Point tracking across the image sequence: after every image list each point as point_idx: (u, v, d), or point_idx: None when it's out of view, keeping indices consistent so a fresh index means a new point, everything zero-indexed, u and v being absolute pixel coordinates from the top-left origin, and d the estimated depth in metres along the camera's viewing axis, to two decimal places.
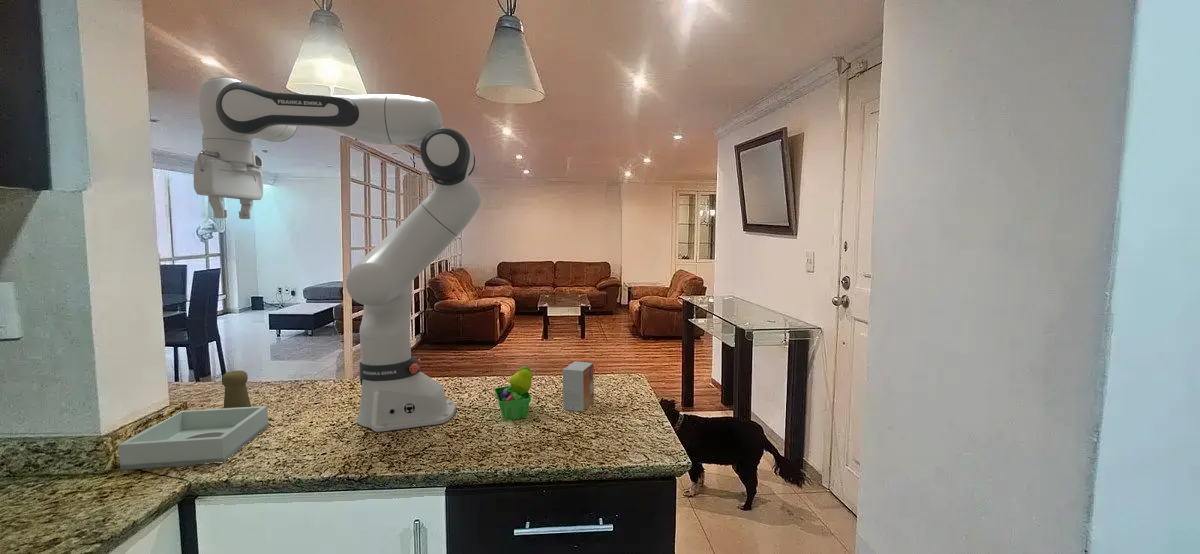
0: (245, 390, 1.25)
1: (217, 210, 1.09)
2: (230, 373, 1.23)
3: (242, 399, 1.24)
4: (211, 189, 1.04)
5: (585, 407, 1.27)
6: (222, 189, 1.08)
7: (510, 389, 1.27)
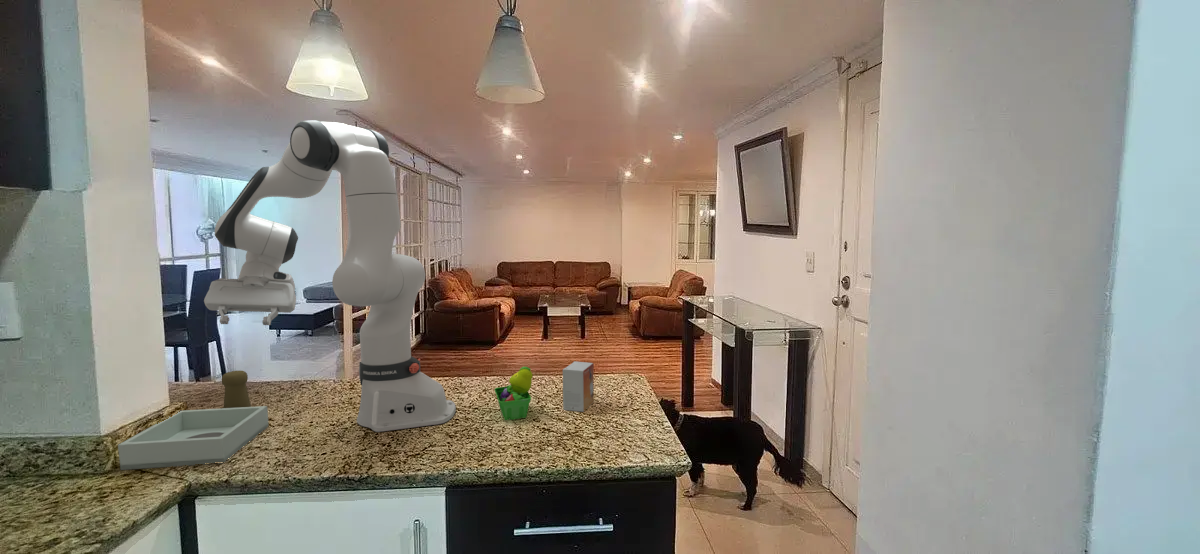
0: (245, 390, 1.25)
1: None
2: (230, 373, 1.23)
3: (242, 399, 1.24)
4: (204, 300, 1.31)
5: (585, 407, 1.27)
6: (220, 299, 1.32)
7: (510, 389, 1.27)
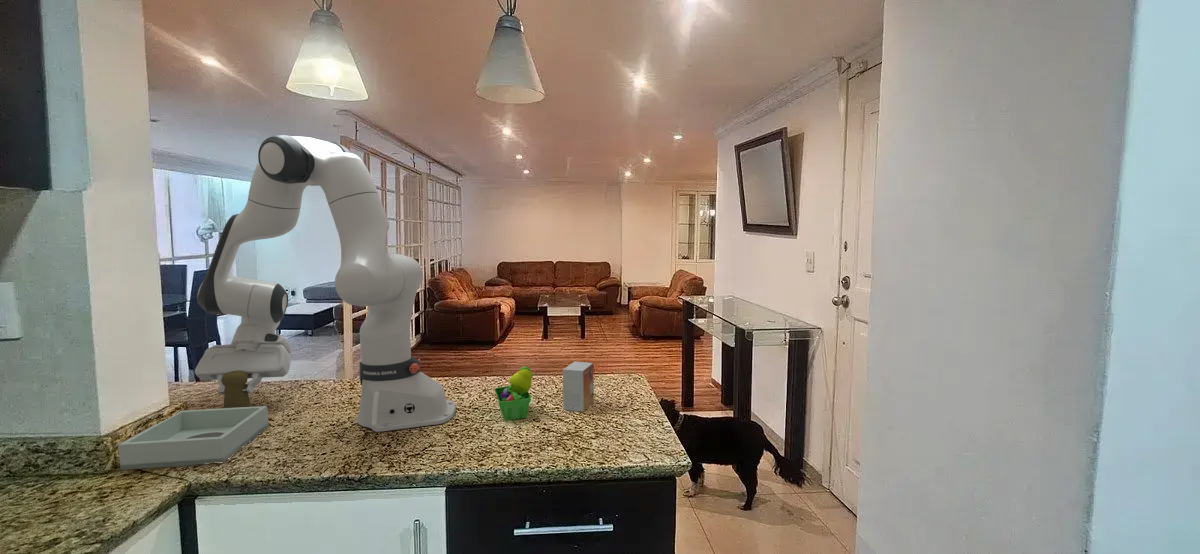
0: None
1: None
2: (230, 373, 1.23)
3: (242, 399, 1.24)
4: None
5: (585, 407, 1.27)
6: (210, 368, 1.25)
7: (510, 389, 1.27)
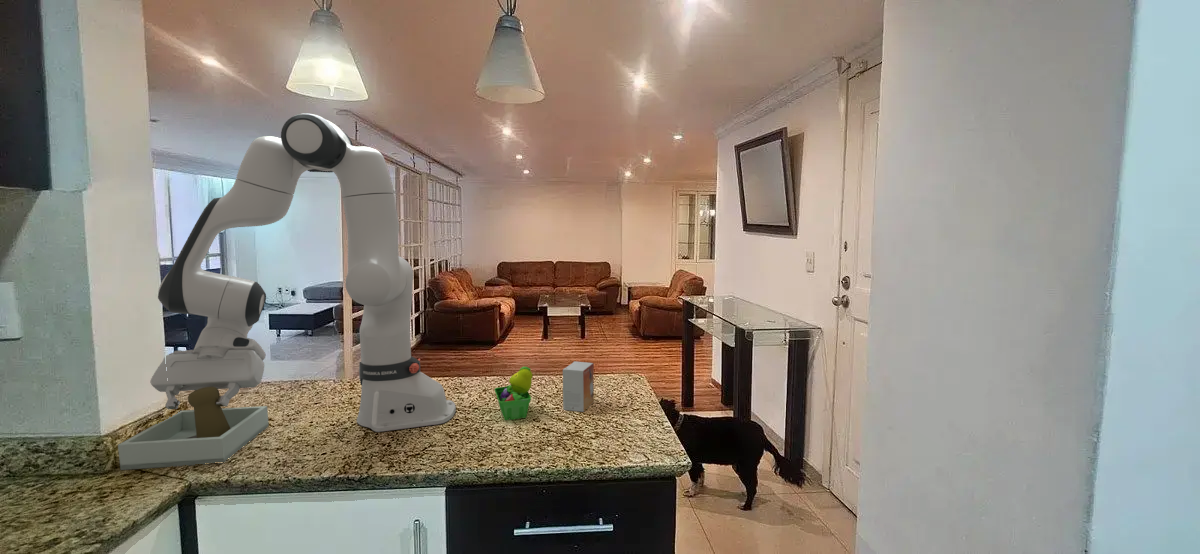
0: (218, 408, 1.07)
1: None
2: (197, 390, 1.05)
3: (215, 419, 1.06)
4: (150, 380, 1.07)
5: (585, 407, 1.27)
6: (168, 378, 1.08)
7: (510, 389, 1.27)
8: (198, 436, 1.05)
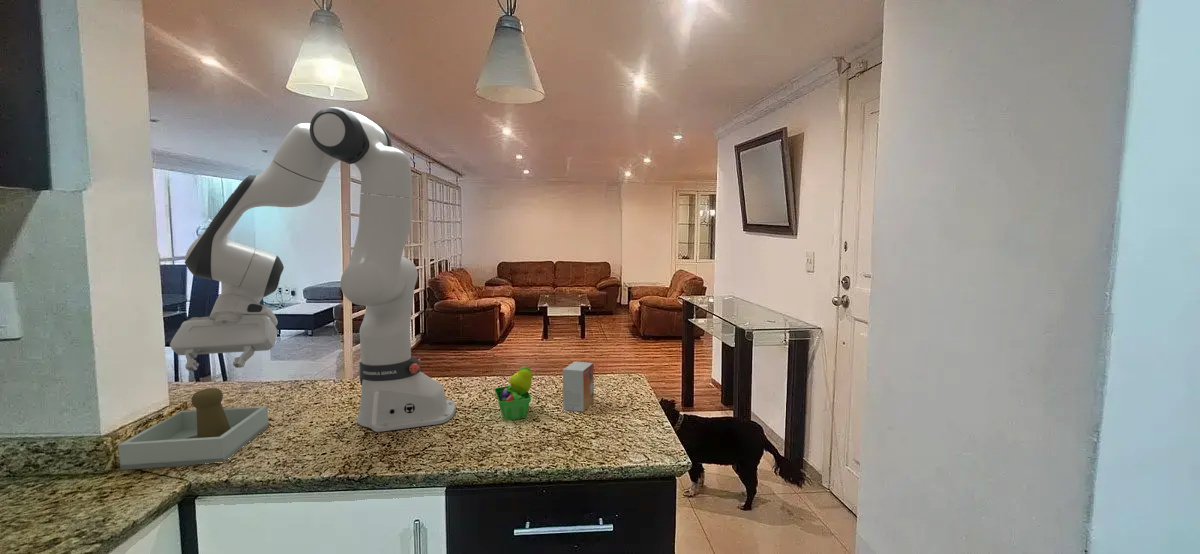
0: (221, 410, 1.07)
1: None
2: (201, 392, 1.05)
3: (218, 421, 1.06)
4: None
5: (585, 407, 1.27)
6: (187, 342, 1.14)
7: (510, 389, 1.27)
8: (199, 437, 1.05)
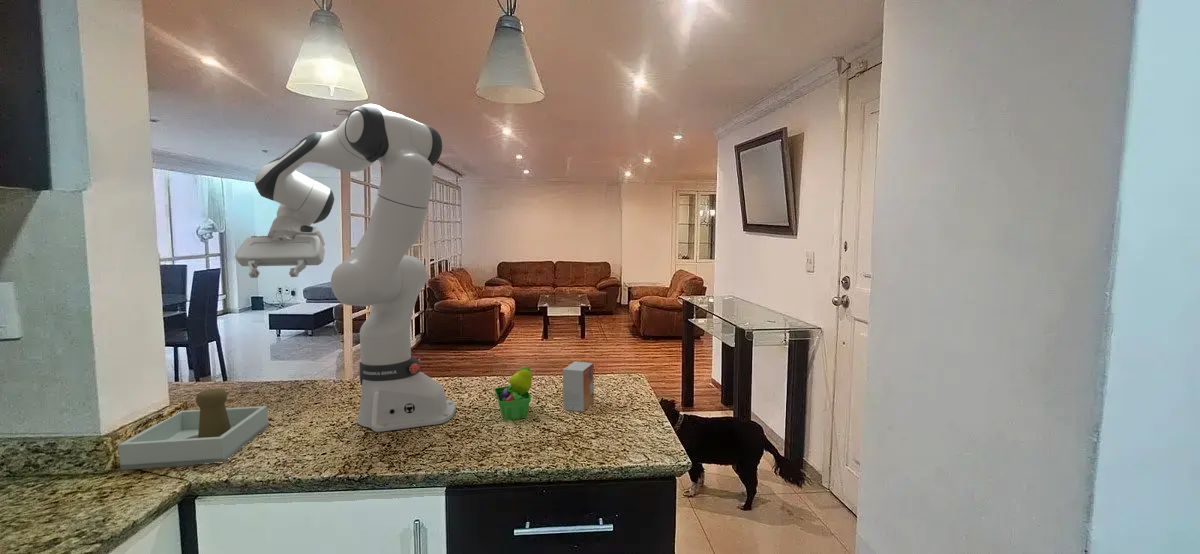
0: (224, 411, 1.07)
1: None
2: (206, 392, 1.06)
3: (220, 422, 1.06)
4: (235, 255, 1.31)
5: (585, 407, 1.27)
6: (249, 254, 1.31)
7: (510, 389, 1.27)
8: (200, 437, 1.05)
